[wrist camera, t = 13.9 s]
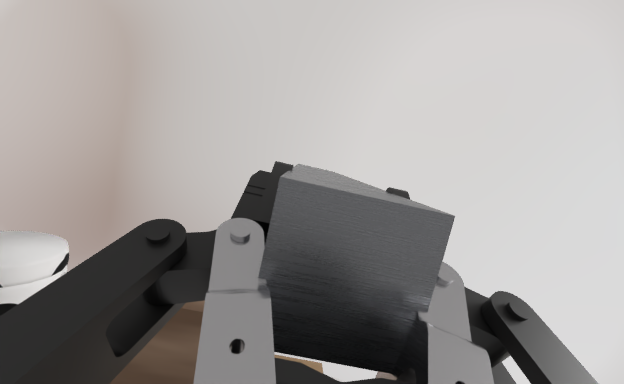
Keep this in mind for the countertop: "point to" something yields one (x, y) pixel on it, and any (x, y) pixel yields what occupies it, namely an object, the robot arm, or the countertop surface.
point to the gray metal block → (348, 268)
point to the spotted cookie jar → (29, 264)
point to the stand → (175, 352)
